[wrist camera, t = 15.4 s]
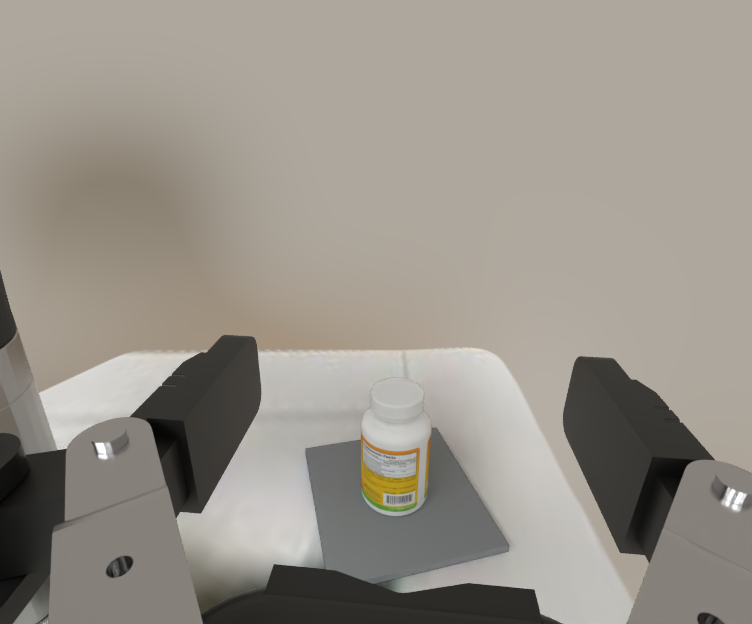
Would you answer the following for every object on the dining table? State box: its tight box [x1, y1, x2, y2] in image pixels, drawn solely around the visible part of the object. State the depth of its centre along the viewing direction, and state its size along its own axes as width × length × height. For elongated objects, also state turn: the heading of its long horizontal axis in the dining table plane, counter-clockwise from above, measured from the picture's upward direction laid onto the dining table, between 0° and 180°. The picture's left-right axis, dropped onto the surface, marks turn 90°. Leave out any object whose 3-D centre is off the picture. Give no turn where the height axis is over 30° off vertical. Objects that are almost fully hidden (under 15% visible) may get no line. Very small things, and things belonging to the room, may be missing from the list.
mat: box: [306, 428, 509, 584], centre depth 37 cm, size 13×14×1 cm
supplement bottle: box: [361, 378, 431, 516], centre depth 35 cm, size 5×5×10 cm
